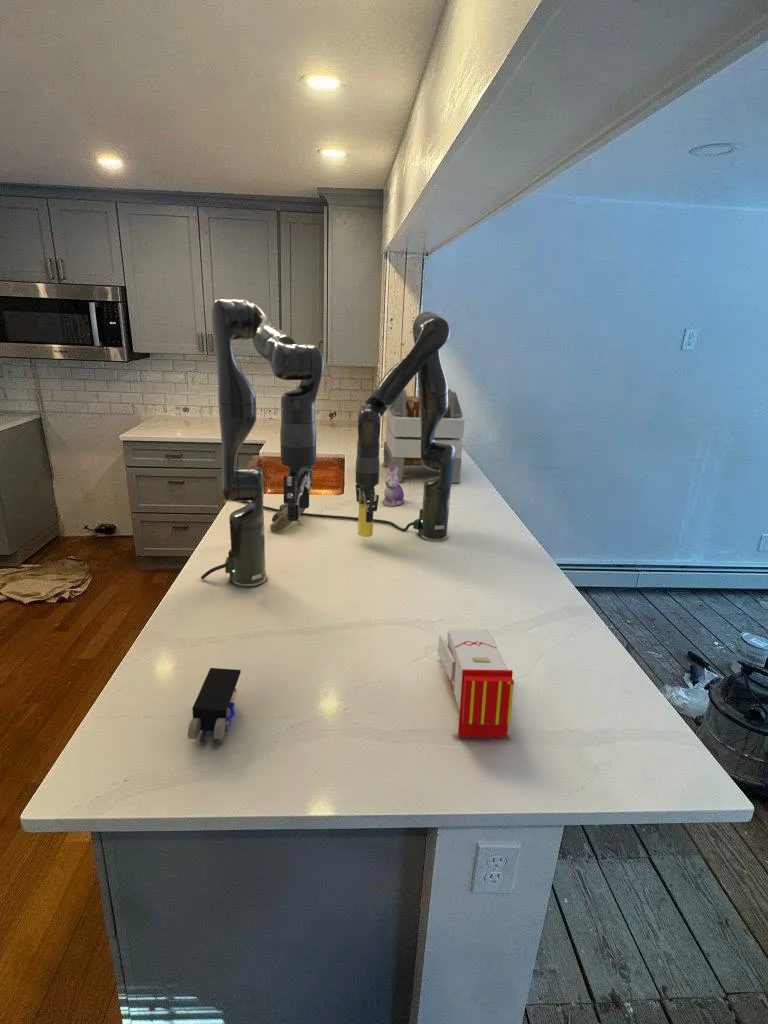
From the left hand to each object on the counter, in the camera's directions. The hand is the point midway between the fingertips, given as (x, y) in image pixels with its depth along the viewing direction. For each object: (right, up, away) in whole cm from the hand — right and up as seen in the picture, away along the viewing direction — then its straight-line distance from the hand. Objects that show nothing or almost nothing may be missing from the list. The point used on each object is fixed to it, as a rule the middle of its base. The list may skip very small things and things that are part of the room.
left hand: (299, 513), depth 125 cm
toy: (+37, -37, -7) cm, 53 cm away
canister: (+13, -7, +62) cm, 64 cm away
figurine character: (-13, -39, -19) cm, 45 cm away
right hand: (+13, -2, +60) cm, 62 cm away
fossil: (-15, -4, +80) cm, 81 cm away
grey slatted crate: (+36, +19, +150) cm, 155 cm away
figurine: (+23, +4, +106) cm, 108 cm away
